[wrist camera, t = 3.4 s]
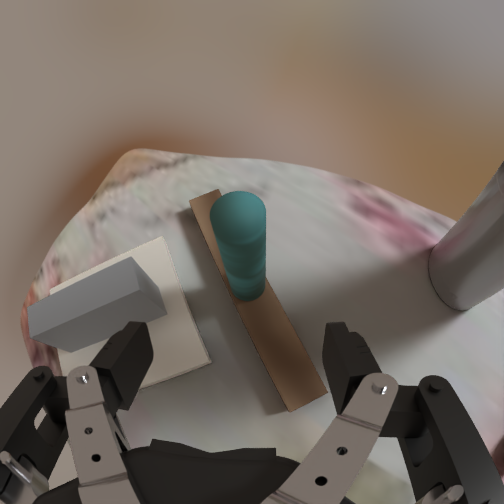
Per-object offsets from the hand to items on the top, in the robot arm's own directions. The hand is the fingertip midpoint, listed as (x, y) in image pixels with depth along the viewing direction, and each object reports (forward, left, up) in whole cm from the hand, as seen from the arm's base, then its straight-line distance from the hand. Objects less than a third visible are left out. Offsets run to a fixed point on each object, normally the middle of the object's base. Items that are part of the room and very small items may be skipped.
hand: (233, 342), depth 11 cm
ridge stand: (+11, -9, -13) cm, 19 cm away
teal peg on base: (-3, -7, -14) cm, 15 cm away
